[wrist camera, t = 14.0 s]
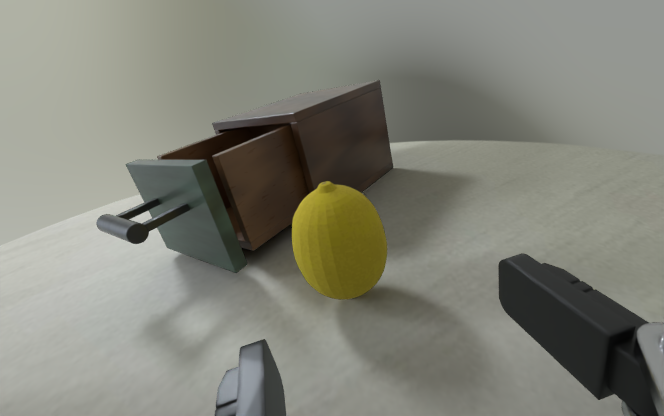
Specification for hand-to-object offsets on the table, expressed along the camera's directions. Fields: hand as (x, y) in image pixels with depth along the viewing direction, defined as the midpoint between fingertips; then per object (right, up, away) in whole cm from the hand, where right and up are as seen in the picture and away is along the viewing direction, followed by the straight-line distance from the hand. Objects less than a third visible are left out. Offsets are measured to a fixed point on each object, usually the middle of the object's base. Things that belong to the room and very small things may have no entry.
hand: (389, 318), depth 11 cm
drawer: (-11, +1, +21) cm, 24 cm away
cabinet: (-3, +6, +30) cm, 31 cm away
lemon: (0, -2, +11) cm, 11 cm away
